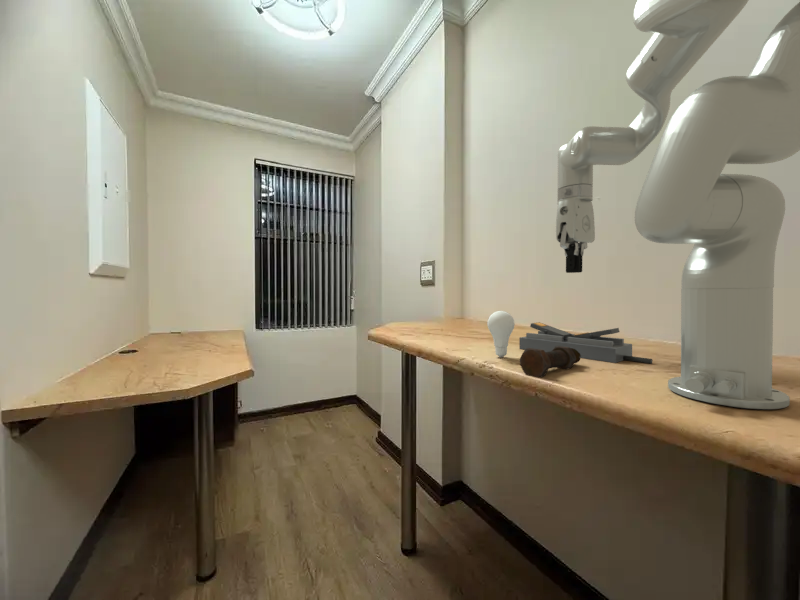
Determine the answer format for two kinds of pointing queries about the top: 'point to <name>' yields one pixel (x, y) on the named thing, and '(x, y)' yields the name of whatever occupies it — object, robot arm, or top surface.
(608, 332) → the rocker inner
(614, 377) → the top surface
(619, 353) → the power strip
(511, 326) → the lightbulb
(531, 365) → the bolt
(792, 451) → the top surface
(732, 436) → the top surface
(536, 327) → the rocker outer
